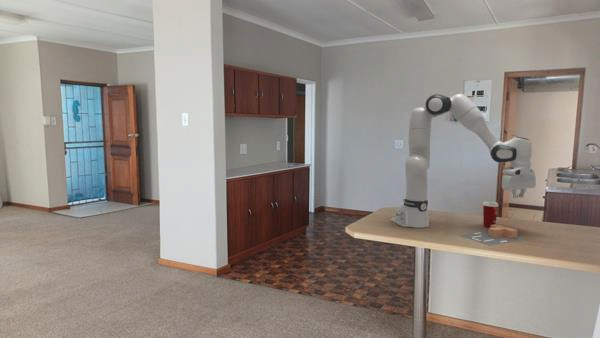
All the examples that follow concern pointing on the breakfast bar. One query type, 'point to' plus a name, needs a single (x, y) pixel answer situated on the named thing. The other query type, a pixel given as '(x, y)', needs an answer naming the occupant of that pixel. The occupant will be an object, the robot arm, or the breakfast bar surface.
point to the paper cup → (489, 213)
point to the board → (489, 238)
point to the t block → (502, 232)
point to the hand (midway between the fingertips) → (518, 197)
